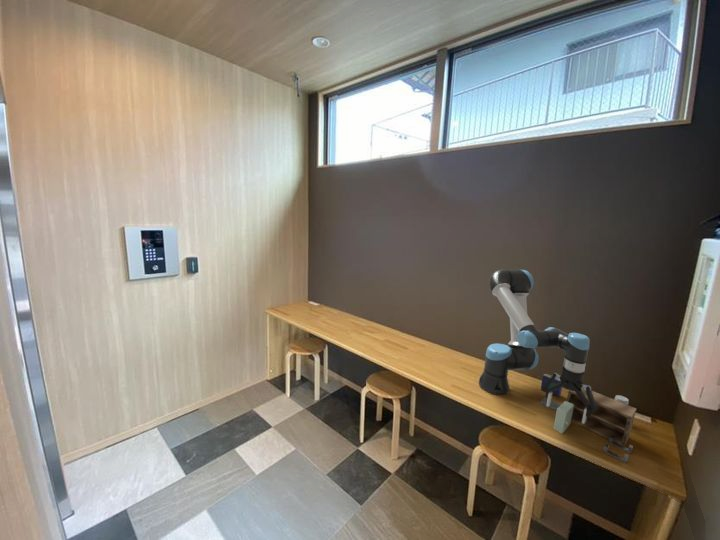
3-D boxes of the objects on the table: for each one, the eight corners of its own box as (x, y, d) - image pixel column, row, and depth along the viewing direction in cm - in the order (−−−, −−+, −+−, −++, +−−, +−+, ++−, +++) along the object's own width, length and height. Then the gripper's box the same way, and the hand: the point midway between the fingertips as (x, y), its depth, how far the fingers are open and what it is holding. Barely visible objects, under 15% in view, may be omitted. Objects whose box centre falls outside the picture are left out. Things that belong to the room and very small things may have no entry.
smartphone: (544, 397, 153) (579, 411, 142) (544, 398, 153) (579, 413, 142) (539, 402, 148) (575, 418, 137) (539, 404, 148) (574, 420, 137)
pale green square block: (553, 428, 130) (557, 408, 129) (561, 419, 137) (565, 400, 135) (564, 434, 127) (568, 414, 125) (572, 425, 133) (576, 405, 131)
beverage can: (616, 417, 140) (622, 394, 137) (626, 424, 135) (632, 401, 133) (607, 417, 140) (612, 394, 137) (616, 424, 135) (621, 401, 132)
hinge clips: (603, 451, 119) (604, 446, 118) (610, 440, 125) (611, 435, 124) (626, 463, 113) (627, 457, 113) (631, 451, 119) (633, 446, 119)
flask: (560, 395, 156) (564, 376, 154) (560, 397, 154) (563, 379, 152) (540, 388, 162) (543, 370, 159) (539, 390, 159) (543, 372, 157)
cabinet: (563, 416, 139) (568, 390, 136) (569, 409, 144) (575, 383, 141) (624, 446, 122) (631, 416, 119) (629, 437, 127) (636, 408, 124)
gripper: (538, 359, 134) (531, 402, 138) (607, 385, 115) (597, 433, 118) (545, 355, 139) (538, 396, 142) (612, 379, 119) (603, 426, 123)
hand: (565, 413), depth 130 cm, fingers open, 13 cm apart
